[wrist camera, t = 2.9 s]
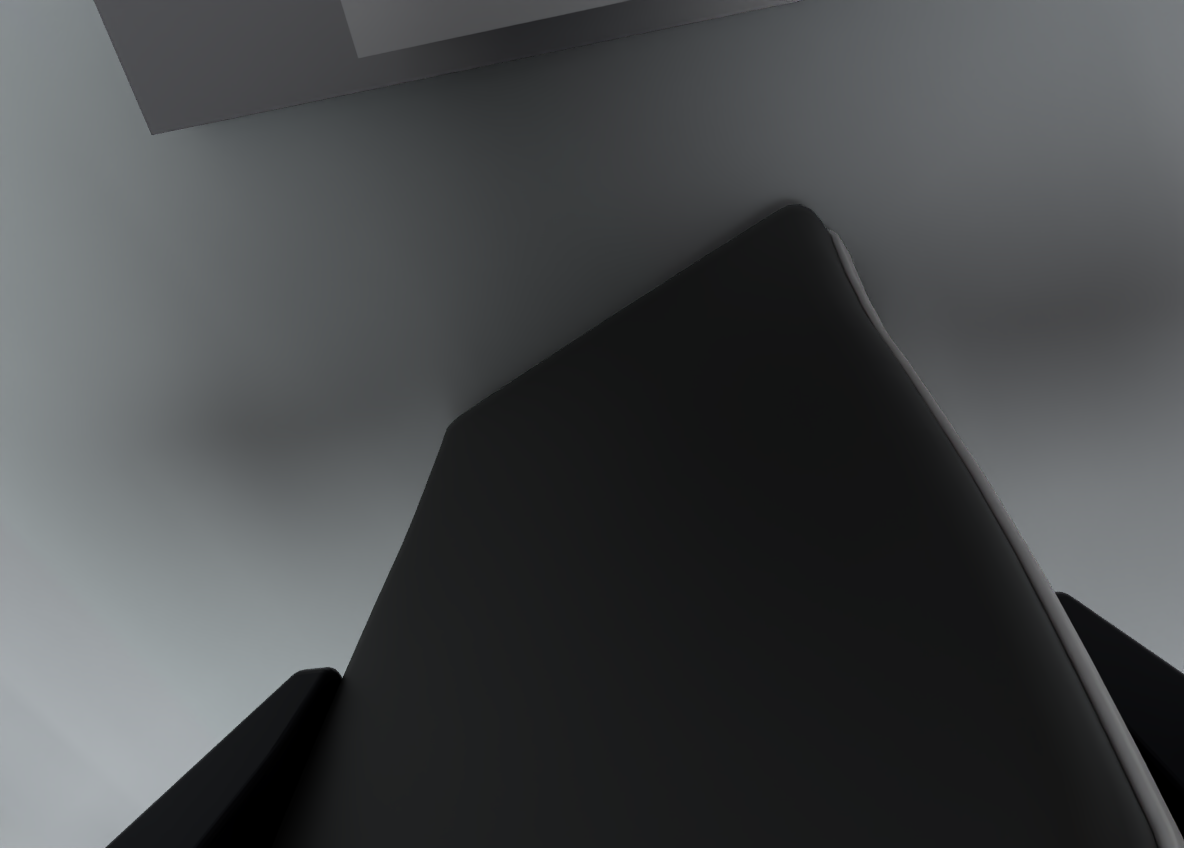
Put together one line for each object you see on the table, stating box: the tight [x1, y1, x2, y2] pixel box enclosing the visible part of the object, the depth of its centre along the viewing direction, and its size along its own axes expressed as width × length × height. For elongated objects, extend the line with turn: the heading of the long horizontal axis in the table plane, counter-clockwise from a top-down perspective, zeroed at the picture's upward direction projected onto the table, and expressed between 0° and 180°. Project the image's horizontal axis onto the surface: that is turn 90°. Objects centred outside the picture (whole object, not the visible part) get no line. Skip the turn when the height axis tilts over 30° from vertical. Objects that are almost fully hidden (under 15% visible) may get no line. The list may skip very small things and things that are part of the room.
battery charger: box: [271, 204, 1184, 848], centre depth 9 cm, size 7×4×11 cm, turn 126°
